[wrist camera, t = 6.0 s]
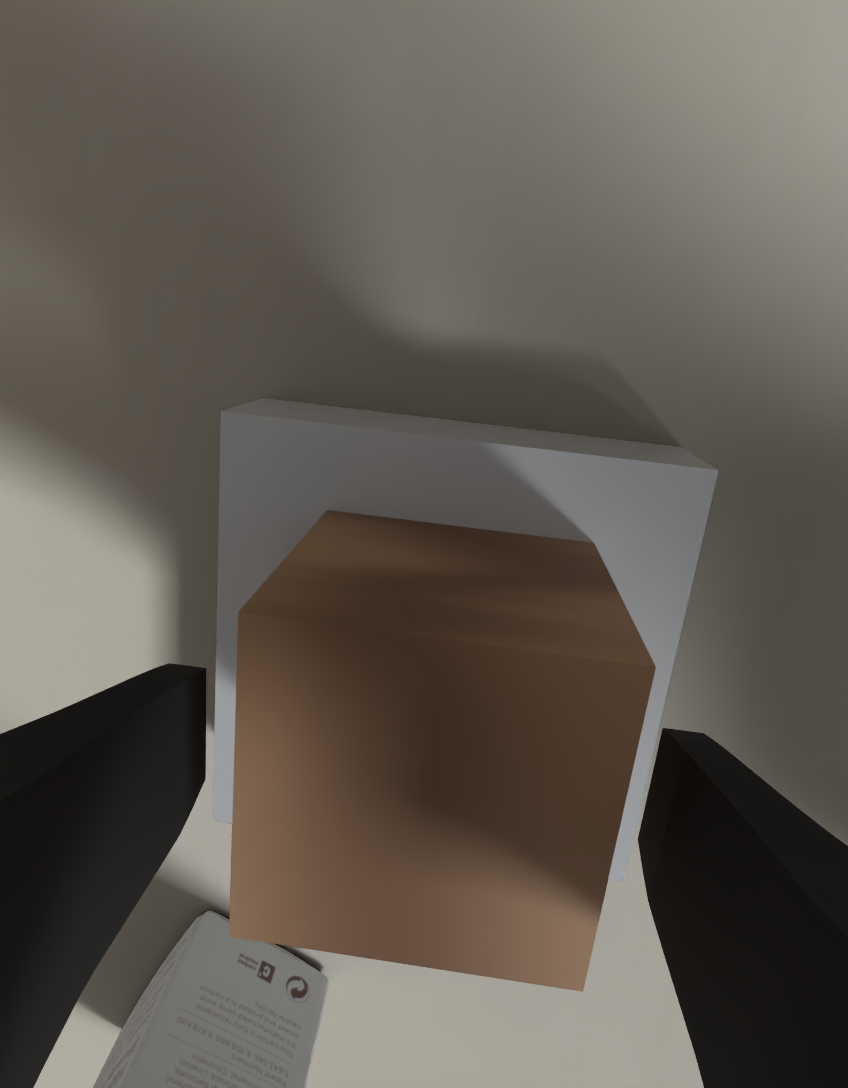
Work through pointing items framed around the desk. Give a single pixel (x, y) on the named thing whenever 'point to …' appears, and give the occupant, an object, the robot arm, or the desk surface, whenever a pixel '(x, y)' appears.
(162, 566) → the desk surface
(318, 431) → the stoneware block
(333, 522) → the walnut cube
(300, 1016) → the skincare box
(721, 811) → the robot arm
